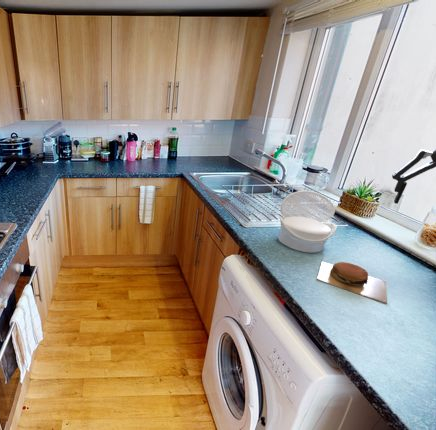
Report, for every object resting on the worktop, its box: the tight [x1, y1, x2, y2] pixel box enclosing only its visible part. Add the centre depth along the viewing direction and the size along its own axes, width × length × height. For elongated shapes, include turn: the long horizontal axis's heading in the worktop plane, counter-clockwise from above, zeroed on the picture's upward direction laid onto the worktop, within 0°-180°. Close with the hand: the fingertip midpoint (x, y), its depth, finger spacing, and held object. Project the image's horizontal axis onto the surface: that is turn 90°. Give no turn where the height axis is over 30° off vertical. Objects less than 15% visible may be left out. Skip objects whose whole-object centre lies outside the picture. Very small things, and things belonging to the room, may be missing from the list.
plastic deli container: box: [277, 190, 338, 253], centre depth 116 cm, size 20×20×20 cm
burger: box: [330, 261, 369, 285], centre depth 95 cm, size 10×9×5 cm
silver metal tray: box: [316, 260, 388, 305], centre depth 96 cm, size 18×14×1 cm
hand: (425, 208), depth 86 cm, fingers open, 13 cm apart
